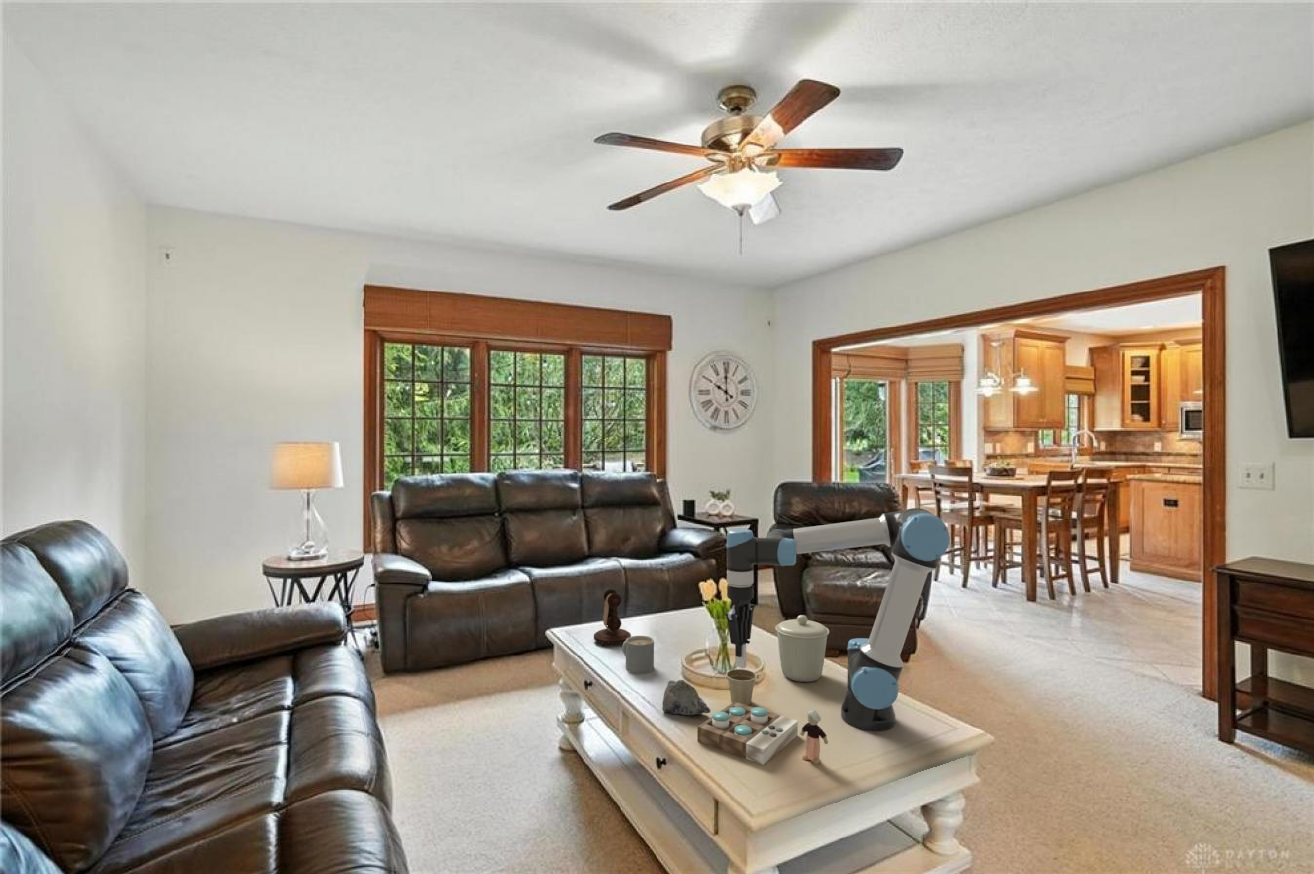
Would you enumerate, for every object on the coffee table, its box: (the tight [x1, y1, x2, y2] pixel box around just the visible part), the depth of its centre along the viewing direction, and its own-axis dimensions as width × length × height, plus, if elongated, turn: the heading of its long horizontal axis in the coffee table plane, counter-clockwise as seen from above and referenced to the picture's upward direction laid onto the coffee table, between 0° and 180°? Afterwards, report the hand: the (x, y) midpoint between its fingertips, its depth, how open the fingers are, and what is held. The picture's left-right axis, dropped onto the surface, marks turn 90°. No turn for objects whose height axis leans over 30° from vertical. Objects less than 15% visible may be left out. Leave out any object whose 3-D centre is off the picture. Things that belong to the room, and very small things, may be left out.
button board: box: [696, 702, 799, 766], centre depth 175 cm, size 20×20×4 cm
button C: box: [729, 707, 745, 718], centre depth 182 cm, size 5×5×4 cm
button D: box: [711, 711, 729, 730], centre depth 175 cm, size 5×5×4 cm
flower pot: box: [725, 668, 758, 706], centre depth 198 cm, size 9×9×9 cm
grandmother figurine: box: [799, 710, 829, 765], centre depth 163 cm, size 8×4×13 cm, turn 58°
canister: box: [774, 614, 830, 683], centre depth 218 cm, size 18×18×21 cm
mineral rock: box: [661, 679, 711, 716], centre depth 189 cm, size 13×11×10 cm
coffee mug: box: [621, 635, 655, 675], centre depth 227 cm, size 13×10×10 cm
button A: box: [751, 706, 769, 726], centre depth 177 cm, size 5×5×4 cm
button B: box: [734, 725, 752, 738], centre depth 170 cm, size 5×5×4 cm
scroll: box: [593, 588, 632, 647], centre depth 254 cm, size 15×15×20 cm
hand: (740, 666), depth 182 cm, fingers closed
